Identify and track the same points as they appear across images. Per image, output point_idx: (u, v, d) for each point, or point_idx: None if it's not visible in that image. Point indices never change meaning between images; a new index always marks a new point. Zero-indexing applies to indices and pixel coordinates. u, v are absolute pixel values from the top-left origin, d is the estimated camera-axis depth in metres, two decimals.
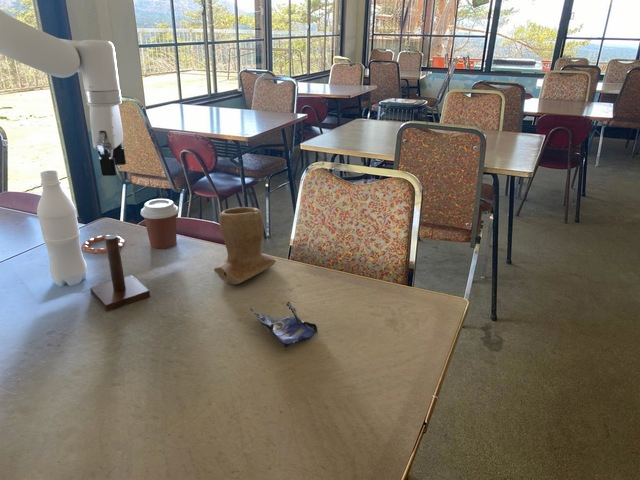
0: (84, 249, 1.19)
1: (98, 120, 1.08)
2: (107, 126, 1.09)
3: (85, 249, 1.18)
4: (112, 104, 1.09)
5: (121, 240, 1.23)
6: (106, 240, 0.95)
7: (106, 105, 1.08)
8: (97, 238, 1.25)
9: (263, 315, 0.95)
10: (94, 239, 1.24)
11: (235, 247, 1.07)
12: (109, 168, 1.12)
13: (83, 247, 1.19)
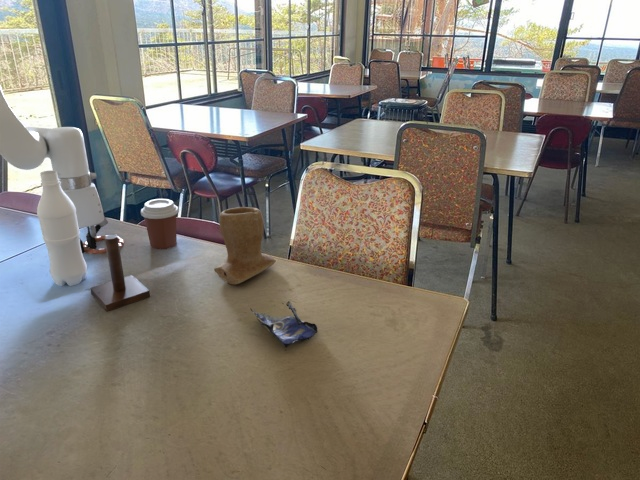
0: None
1: None
2: None
3: (84, 249, 1.18)
4: (64, 190, 1.10)
5: (120, 240, 1.23)
6: (106, 240, 0.95)
7: None
8: (96, 238, 1.24)
9: (263, 315, 0.95)
10: None
11: (235, 247, 1.07)
12: None
13: None
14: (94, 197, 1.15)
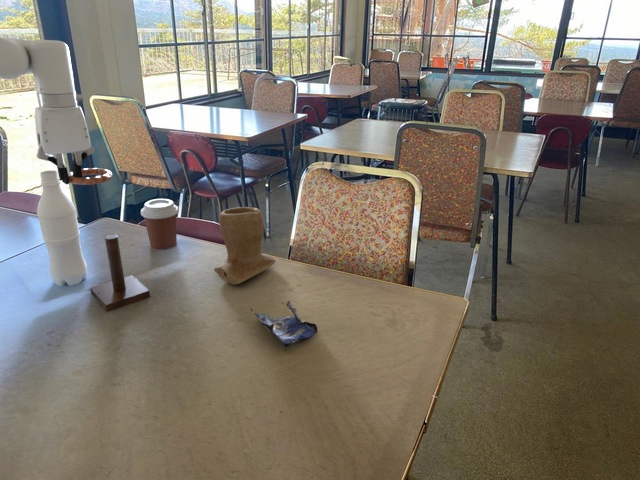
0: None
1: (36, 122, 1.04)
2: (39, 130, 1.04)
3: (69, 178, 1.11)
4: (48, 108, 1.02)
5: (108, 172, 1.16)
6: (106, 240, 0.95)
7: (42, 108, 1.02)
8: (83, 170, 1.17)
9: (263, 315, 0.95)
10: None
11: (235, 247, 1.07)
12: (60, 176, 1.10)
13: None
14: (80, 120, 1.07)
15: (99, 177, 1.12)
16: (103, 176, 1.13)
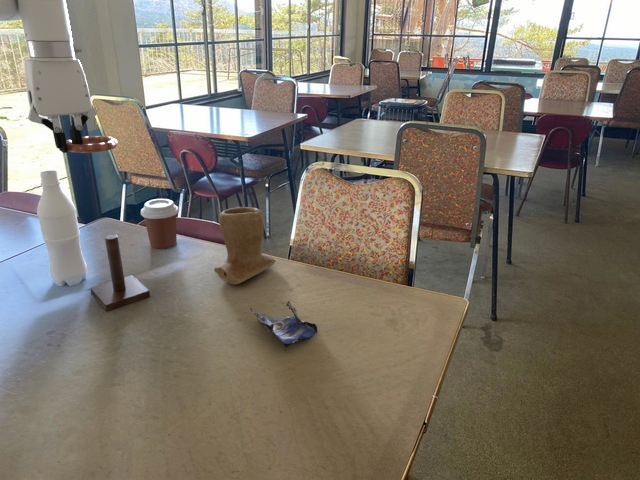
0: None
1: (26, 77, 0.87)
2: (31, 85, 0.87)
3: (68, 145, 0.94)
4: (40, 59, 0.85)
5: (113, 139, 0.99)
6: (106, 240, 0.95)
7: (33, 59, 0.86)
8: (83, 138, 1.00)
9: (263, 315, 0.95)
10: None
11: (235, 247, 1.07)
12: (57, 143, 0.93)
13: None
14: (79, 75, 0.91)
15: (103, 144, 0.95)
16: (107, 143, 0.96)
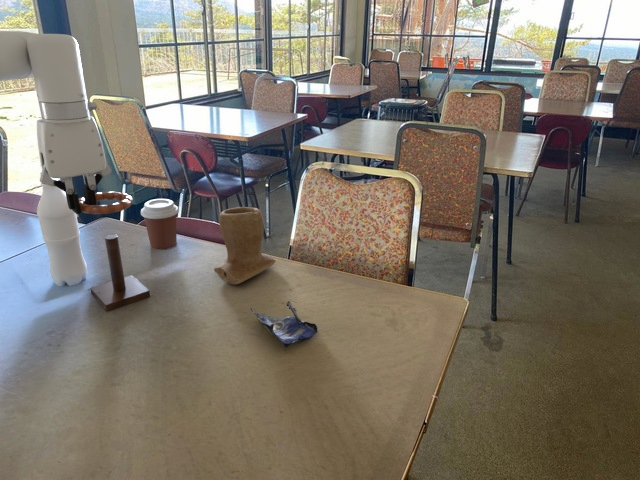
0: None
1: (38, 138, 0.82)
2: (43, 148, 0.82)
3: (81, 205, 0.89)
4: (53, 121, 0.80)
5: (128, 197, 0.94)
6: (106, 240, 0.95)
7: (46, 121, 0.81)
8: (97, 195, 0.95)
9: (263, 315, 0.95)
10: None
11: (235, 247, 1.07)
12: (69, 204, 0.88)
13: None
14: (93, 134, 0.86)
15: (118, 204, 0.90)
16: (122, 203, 0.91)
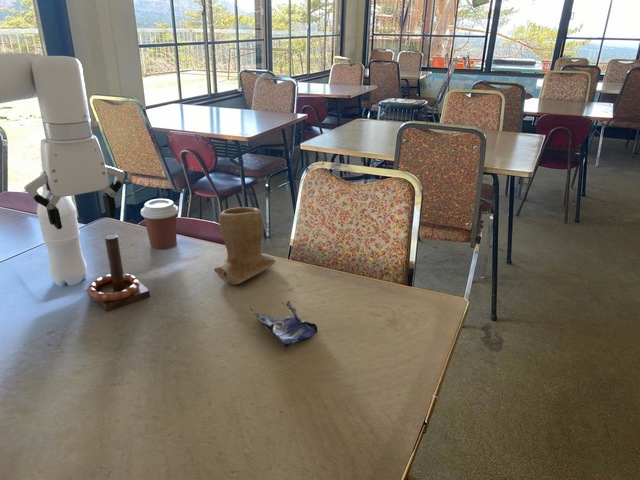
0: (90, 293, 0.96)
1: (42, 158, 0.84)
2: (47, 168, 0.83)
3: (92, 293, 0.96)
4: (56, 141, 0.82)
5: (135, 281, 1.01)
6: (106, 240, 0.95)
7: (50, 141, 0.82)
8: (106, 277, 1.02)
9: (263, 315, 0.95)
10: (103, 279, 1.02)
11: (235, 247, 1.07)
12: (50, 219, 0.87)
13: (89, 291, 0.97)
14: (96, 153, 0.87)
15: (126, 291, 0.97)
16: (130, 289, 0.98)
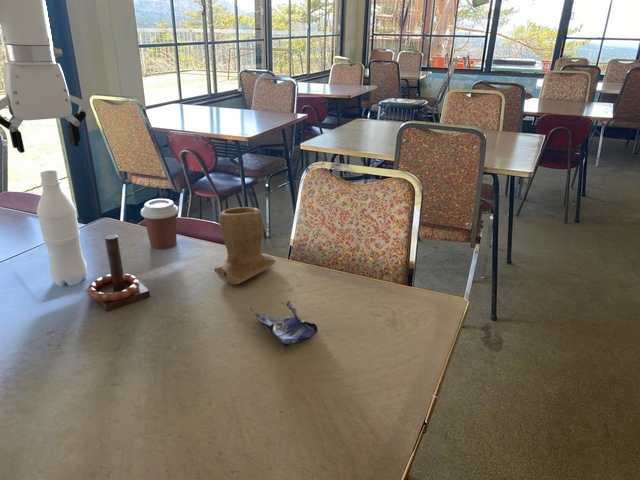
0: (90, 293, 0.96)
1: (4, 80, 0.87)
2: (8, 89, 0.86)
3: (92, 293, 0.96)
4: (18, 63, 0.85)
5: (135, 281, 1.01)
6: (106, 240, 0.95)
7: (11, 63, 0.85)
8: (106, 277, 1.02)
9: (263, 315, 0.95)
10: (103, 279, 1.02)
11: (235, 247, 1.07)
12: (13, 142, 0.90)
13: (89, 291, 0.97)
14: (58, 79, 0.90)
15: (126, 291, 0.97)
16: (130, 289, 0.98)
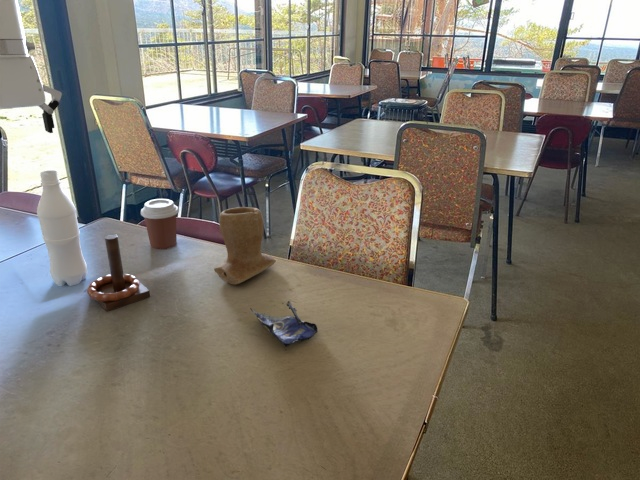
0: (90, 293, 0.96)
1: None
2: None
3: (92, 293, 0.96)
4: None
5: (135, 281, 1.01)
6: (106, 240, 0.95)
7: None
8: (106, 277, 1.02)
9: (263, 315, 0.95)
10: (103, 279, 1.02)
11: (235, 247, 1.07)
12: None
13: (89, 291, 0.97)
14: (32, 70, 0.98)
15: (126, 291, 0.97)
16: (130, 289, 0.98)
